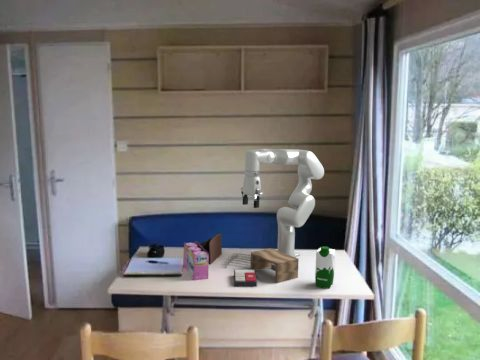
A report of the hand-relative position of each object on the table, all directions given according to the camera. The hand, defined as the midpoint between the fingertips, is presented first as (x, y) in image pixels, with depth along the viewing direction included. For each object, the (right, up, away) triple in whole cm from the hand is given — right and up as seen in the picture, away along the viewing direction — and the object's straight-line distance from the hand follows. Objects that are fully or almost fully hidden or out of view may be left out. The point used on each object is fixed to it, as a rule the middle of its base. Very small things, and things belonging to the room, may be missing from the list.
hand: (250, 206), depth 244 cm
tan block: (+12, -36, +1) cm, 38 cm away
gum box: (-29, -36, +2) cm, 46 cm away
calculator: (-3, -38, -9) cm, 39 cm away
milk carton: (+36, -39, -13) cm, 55 cm away
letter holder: (-24, -32, +25) cm, 47 cm away
